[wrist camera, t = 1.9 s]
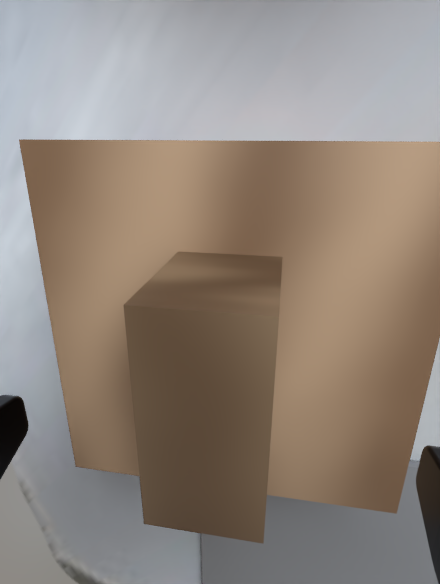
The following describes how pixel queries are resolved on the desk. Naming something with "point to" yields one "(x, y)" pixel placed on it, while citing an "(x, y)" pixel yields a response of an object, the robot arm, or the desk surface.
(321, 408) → the cover
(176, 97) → the desk surface
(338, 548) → the mat
